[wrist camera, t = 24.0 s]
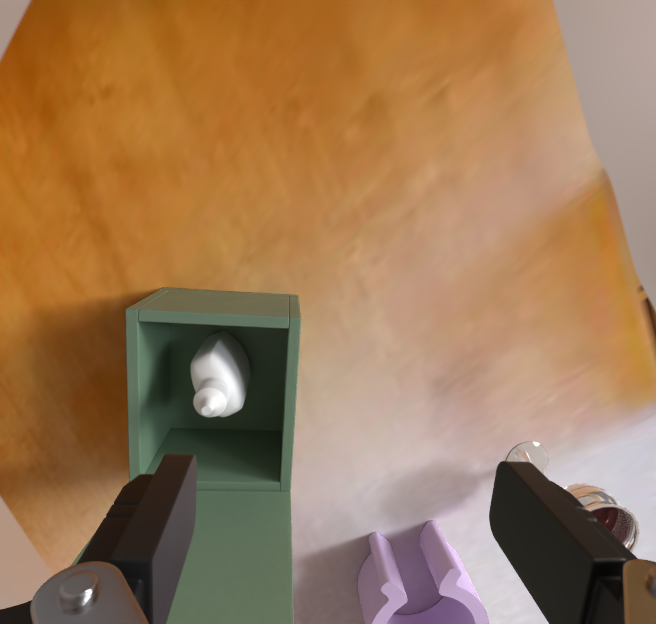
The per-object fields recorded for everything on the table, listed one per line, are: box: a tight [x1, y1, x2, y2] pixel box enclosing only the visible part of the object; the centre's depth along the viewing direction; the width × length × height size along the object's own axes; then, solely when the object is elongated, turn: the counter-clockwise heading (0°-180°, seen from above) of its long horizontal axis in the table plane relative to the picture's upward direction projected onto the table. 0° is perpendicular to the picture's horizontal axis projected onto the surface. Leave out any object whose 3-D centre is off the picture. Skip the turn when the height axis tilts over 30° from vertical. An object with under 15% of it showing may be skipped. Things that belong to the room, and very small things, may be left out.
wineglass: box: [507, 442, 639, 553], centre depth 43 cm, size 7×7×12 cm
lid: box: [70, 491, 294, 624], centre depth 28 cm, size 16×13×5 cm
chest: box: [125, 288, 301, 492], centre depth 39 cm, size 15×13×10 cm
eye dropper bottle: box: [190, 331, 251, 417], centre depth 37 cm, size 4×6×12 cm
